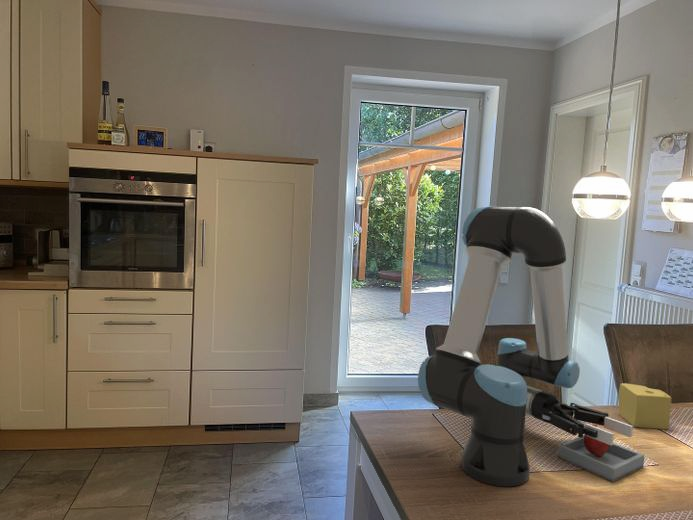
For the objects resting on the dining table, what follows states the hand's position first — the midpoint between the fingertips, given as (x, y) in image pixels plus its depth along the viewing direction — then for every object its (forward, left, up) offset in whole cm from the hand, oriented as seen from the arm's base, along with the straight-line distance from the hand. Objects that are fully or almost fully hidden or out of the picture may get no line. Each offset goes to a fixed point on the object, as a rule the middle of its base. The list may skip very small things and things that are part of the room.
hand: (622, 435), depth 120 cm
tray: (-3, +4, -8) cm, 10 cm away
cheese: (+21, +33, -9) cm, 40 cm away
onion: (-3, +4, -8) cm, 9 cm away
